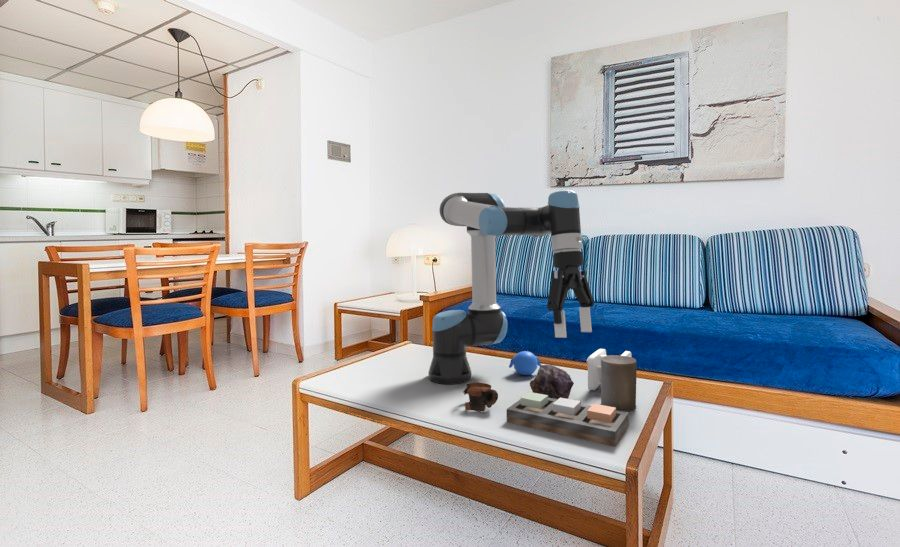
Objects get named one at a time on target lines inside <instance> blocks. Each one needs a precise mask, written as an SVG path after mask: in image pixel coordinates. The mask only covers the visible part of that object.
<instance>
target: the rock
mask: <svg viewBox="0 0 900 547" xmlns="http://www.w3.org/2000/svg"><path fill="white" fill-rule="evenodd" d="M529 386H530V389H531V392H533V393H538V394H544V395H548V398H553V399H559V398H566V399H570V398H569V397H570V395H571V392H572V388H573V386H574V381H573V380H572V377H571V375H570V374H568V372H567V371H565V370H563V369H561V368H559V367H557V366H555V365H552V364H544V365H543V364H541V366H539V368H538V370H537V372H536V376H535V377H534V378H533V379H532V380H531V381H529Z"/></svg>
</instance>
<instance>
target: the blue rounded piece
mask: <svg viewBox="0 0 900 547" xmlns="http://www.w3.org/2000/svg"><path fill="white" fill-rule="evenodd" d="M509 362H510V363H509V365H508V369H511V368H512V367H513V368H514V370H515V372H516V373H518V374H519V375H521V376H530V375H533V374H534V373H535V372H536V371H537V369H538V366H539V367H540V366H541V365H542V363H541V362H540V359H539V357H538V356H536V355H535V354H534V353H533V352H531V351H527V350H523V351H519V352H517V353H516V354H515V355H514V357H512V358H511V359H510V361H509Z"/></svg>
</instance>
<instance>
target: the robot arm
mask: <svg viewBox="0 0 900 547" xmlns="http://www.w3.org/2000/svg"><path fill="white" fill-rule="evenodd" d="M439 215H440V218H441V219H442V221H443V222H444V223H446V224H448V225H450V226H456V227H466V233H467V234H469V236H470V239H471V240H470V241H471V242H470V243H471V244H470V245H471V250H470V251H471V294H472V295H471V300H472V302H471V304H470V305H469V306H468V307H467V308H468V309H467V310H468V312H467V313H466V311H465V310H462V309H451V310H445V311H441V312H438V313H437V314H435V315H434V316H433V318H432V327H431V330H432V360H431V362H430V366H429V369H428V375H427V376H428V380H429V381H431V382H432V383H436V384H441V385H442V384H444V385H455V384H456V385H457V384H462V383H465V382H466V383H467V382H468V381H471V380H472V369H471V366H470V363H469V361H468V358H467V357H468V356H467V348H468V347H475V346H476V347H477V346H478V347H479V346H486V345H488V346H491V345H495V344H499V343H501V342H502V341H503V340H504V339H505V337H506V335H507V332H508V319H507V315H506V314H505V312H504V311H502V310H501V309H502V308H501V306H500V305H499V303H498V302H497V266H496V265H497V262H496V260H497V259H496V256H497V255H496V237H499V236H530V237H532V238H538V237H544V236H546V235H550V236H551V250H552V252H553V254H552V265H553V267H554V268H555V269H557V270H551V282H550V287H549V292H548V299H547V305H546V307H547V309H548V312H549V311H550V312H553V326H554V327H553V328H554V338H563V339H565V338H568V337H567V324H566V322H567V321H566V312H565V310H563V308H564V305H565V301H566V299H567V296H568V293H569V290H572V291H573V293H574V295H575V297H576V299H577V302H578V303H579V305H580V307H579V308H578V310H579V312H578V313H579V322H580V332H581V333H592V332H593V329H592V327H593V326H592V318H591V317H592V316H591V307H592V308H593V307H594V305H595V302H594V298H593V294H592V292H591V289H590V288H591V287H590V285H589V282H588V279H587V273H586V272H587V271H586V270H585V269H582V270H580V269H579V267H582V266H583V265H584V263H585V262H584V252H583V251H582V249H583V243H582V241H583V237H582V231H581V230H582V229H581V217H580V216H581V214H580V203H579V198H578V194H577V192H575V191H573V190H559V191H554V192H552V193H550V194H549V196H548V198H547V205H545V206H542V207H509V206H507V207H506V206H505V202H504V201H503V199H502V197H501V196H500V195H498V194H496V193H489V192H455V193H451V194H449V195H447V196H446V197H444V198H443V199H442V201H441V203H440V205H439Z"/></svg>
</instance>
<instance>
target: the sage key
mask: <svg viewBox="0 0 900 547" xmlns="http://www.w3.org/2000/svg"><path fill="white" fill-rule="evenodd" d="M520 399H521V405H523V406H528V407H533V408H538V409H541V408H542V407H543V406H544V405H546V404H547V403H548V395H544V394H538V393H533V391H528V392H527V393H525V394H524V395H523V396H521V397H520Z"/></svg>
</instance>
